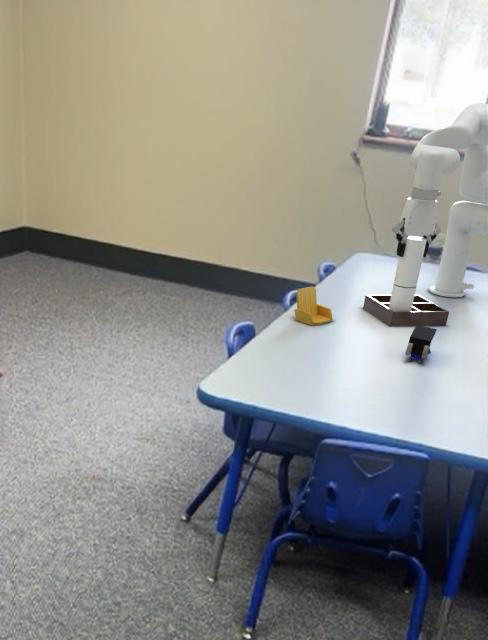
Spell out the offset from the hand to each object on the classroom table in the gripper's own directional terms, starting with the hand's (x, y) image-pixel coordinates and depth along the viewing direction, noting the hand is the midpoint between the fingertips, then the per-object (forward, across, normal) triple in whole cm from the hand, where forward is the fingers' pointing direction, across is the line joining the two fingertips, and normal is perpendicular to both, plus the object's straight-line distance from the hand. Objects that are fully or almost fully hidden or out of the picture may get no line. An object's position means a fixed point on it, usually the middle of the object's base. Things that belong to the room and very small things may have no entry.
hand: (411, 255), depth 251 cm
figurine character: (+21, +11, +34) cm, 42 cm away
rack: (+21, -5, -5) cm, 22 cm away
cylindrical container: (+20, 0, 0) cm, 20 cm away
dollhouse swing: (+21, +29, -2) cm, 36 cm away
